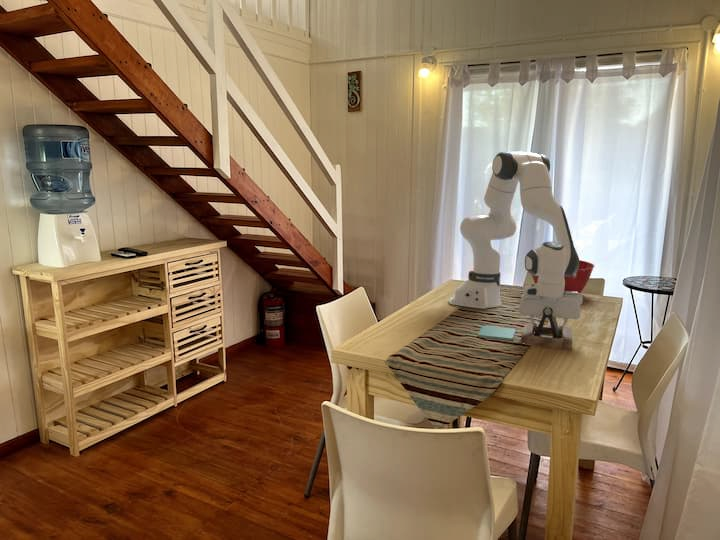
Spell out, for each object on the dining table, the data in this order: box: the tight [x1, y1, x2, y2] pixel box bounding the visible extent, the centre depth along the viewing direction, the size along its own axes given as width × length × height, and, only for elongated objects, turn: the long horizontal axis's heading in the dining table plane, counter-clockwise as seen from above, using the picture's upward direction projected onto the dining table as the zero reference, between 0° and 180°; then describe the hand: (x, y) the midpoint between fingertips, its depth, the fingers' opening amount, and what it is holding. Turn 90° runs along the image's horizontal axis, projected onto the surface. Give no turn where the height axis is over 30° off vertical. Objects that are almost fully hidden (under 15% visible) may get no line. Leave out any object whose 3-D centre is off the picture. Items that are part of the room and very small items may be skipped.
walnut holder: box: [520, 322, 573, 351], centre depth 189 cm, size 16×18×2 cm
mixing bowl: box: [531, 259, 595, 294], centre depth 251 cm, size 28×28×16 cm
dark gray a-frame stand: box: [533, 307, 562, 339], centre depth 188 cm, size 9×6×12 cm, turn 62°
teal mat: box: [477, 325, 517, 341], centre depth 195 cm, size 12×12×1 cm
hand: (547, 328), depth 188 cm, fingers open, 7 cm apart
